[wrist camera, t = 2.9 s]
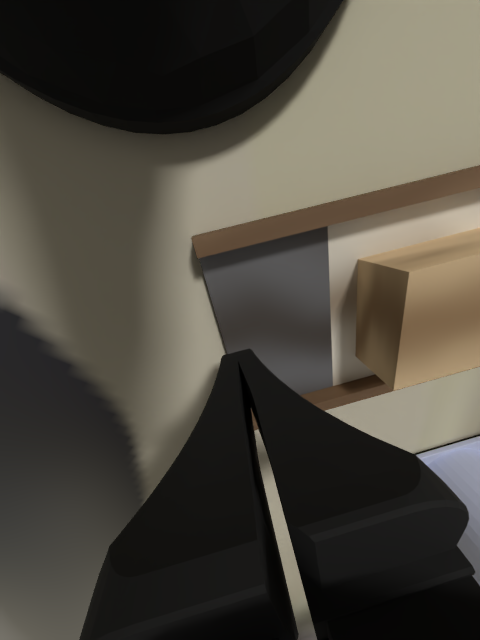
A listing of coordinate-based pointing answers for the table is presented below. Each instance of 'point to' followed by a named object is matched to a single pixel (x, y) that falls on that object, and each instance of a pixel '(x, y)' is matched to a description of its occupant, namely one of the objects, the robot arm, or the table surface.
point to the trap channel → (322, 278)
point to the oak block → (420, 310)
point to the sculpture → (157, 56)
